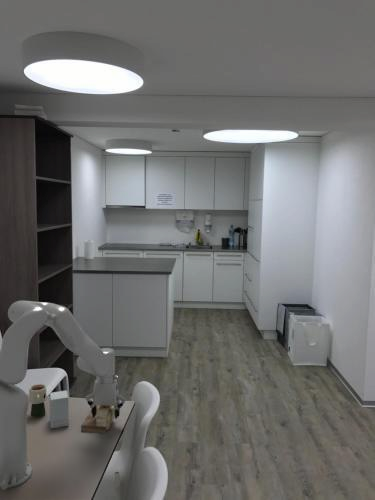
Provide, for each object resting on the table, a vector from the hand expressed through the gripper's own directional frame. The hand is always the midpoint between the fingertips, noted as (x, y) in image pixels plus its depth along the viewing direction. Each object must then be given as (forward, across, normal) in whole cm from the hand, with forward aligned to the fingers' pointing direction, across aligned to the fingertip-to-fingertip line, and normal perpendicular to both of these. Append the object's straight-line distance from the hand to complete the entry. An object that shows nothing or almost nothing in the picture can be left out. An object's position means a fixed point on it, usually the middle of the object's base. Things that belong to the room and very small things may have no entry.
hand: (105, 416), depth 167 cm
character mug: (+5, +32, -5) cm, 33 cm away
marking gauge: (+3, 0, 0) cm, 3 cm away
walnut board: (+4, +4, -7) cm, 9 cm away
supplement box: (+5, +20, 0) cm, 21 cm away
